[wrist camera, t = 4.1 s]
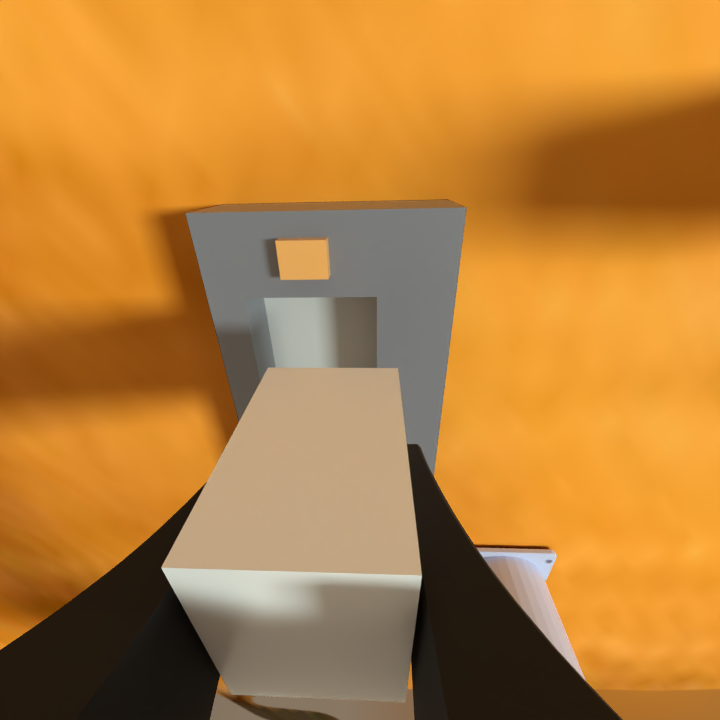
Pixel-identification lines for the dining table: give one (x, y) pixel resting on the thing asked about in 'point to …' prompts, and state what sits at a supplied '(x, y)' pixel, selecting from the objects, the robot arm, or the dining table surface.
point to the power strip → (335, 293)
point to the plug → (307, 542)
